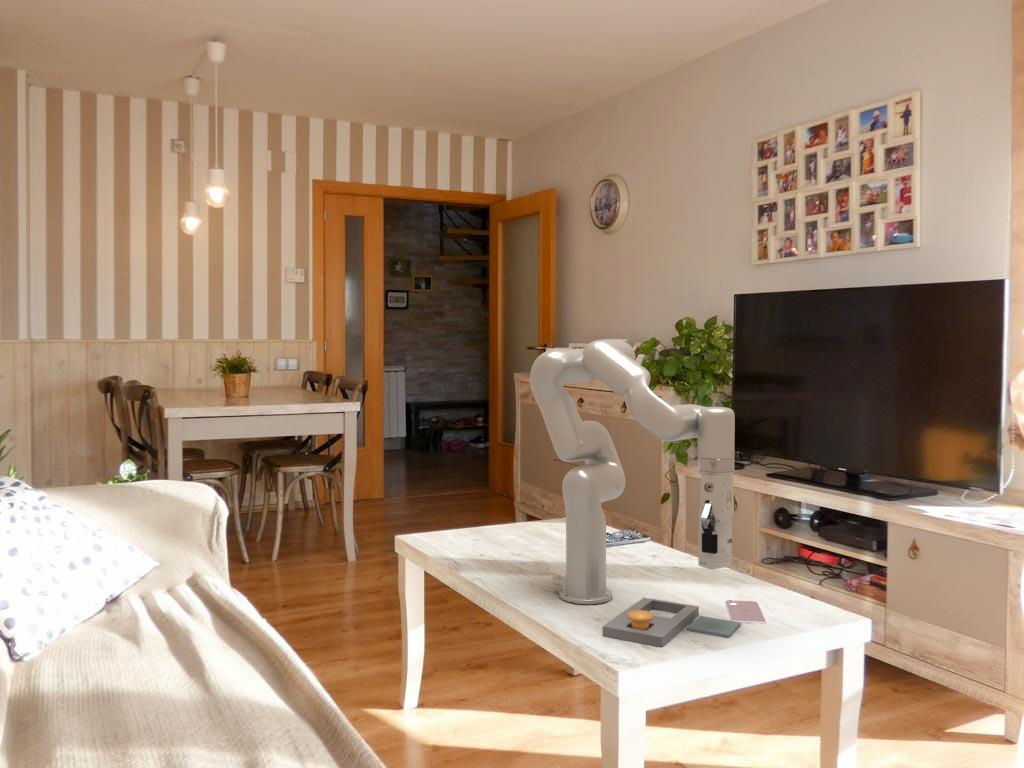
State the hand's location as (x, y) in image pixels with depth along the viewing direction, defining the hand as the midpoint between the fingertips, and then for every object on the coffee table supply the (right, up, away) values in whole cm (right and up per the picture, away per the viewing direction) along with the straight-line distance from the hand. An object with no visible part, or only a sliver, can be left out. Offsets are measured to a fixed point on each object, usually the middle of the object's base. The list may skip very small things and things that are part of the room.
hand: (715, 548), depth 181 cm
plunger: (-16, -17, -3) cm, 24 cm away
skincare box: (0, -4, 0) cm, 4 cm away
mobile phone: (+9, -17, +11) cm, 23 cm away
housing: (-13, -17, +2) cm, 22 cm away
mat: (0, -17, +1) cm, 17 cm away
